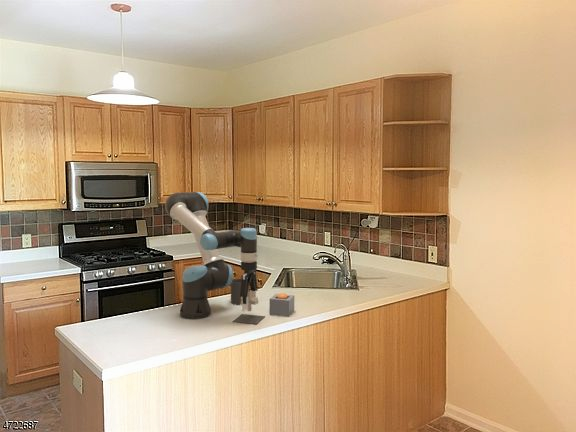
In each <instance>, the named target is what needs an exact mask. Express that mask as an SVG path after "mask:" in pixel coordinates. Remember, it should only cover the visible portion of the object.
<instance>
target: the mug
mask: <svg viewBox="0 0 576 432" xmlns="http://www.w3.org/2000/svg"><path fill="white" fill-rule="evenodd" d="M241 280H242V279H241V278H235V279H234V278H233V279H232V282H231V284H230V303H231V304H232V305H235V304H236V305H237V306H238V305H239V306H240V304H241V301H242V300H241V297H240V291H241ZM249 290H251V289H249ZM241 306H242V304H241Z"/></svg>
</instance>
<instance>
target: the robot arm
mask: <svg viewBox="0 0 576 432" xmlns="http://www.w3.org/2000/svg"><path fill="white" fill-rule="evenodd" d="M164 209H165V211H166V213H167V215H168V216H169V217H170V218H171V219H173V220H177V222H179V223H180V224H181V225H182V226H183V227H185V229H187V230H188V231H189V232H190V233H192V234H193V235H194V238H195V241H196V244H197V246H198V250H199V253H200V256H201V259H202V262H203V264H202V265H201V264H200V265H198V264H197V265H193V266H189V267H187V268H185V269H184V270H183V271H182V272H183V273H182V302H181V305H180V308H179V316H180V317H181V318H184V319H188V320H189V319H190V320H192V319H193V320H194V319H195V320H196V319H197V320H198V319H204V318H207V317H210V316H211V314H212V308H211V305H210V301H209V299H208V292H212V291H216V290H220V289H224V288H227V287H229V286H231V282H232V280H233V279H234V271H233V268H232V266H231V265H229V264H228V263H225V262H226V261H225V260H224V258H223V257H220V254H219V251H218V249H226V248H232V247H237V248H240V261H241V262H240V269H241V271H243V274H241V276H240V277H241V278H240V279H242V280H241V291H240V297H242V305H241V309H242V310H241V311H243V312H244V311H245V312H249V311H248V297H247V295H248V290H250V289H251V298H253V297H257V293H256V292H257V291H258V290H259V289H258V277H257V269H258V262H257V260H258V258H257V257H258V256H259V254H258V233H257V229H256V228H254V227H243V228H241V229H240V230H234V229H229V230H228V229H227V230H226V231H220V232H216V231H215V230H214V229H213V228H211V227H210V225H209V223H208V220H207V218H206V216H207V214H208V210H209V200H208V198H207V196H206V194H204V193H203V192H200V191H189V192H185V191H184V192H174V193H172V194H171V195H169V196H168V197H167V198H166V200H165V203H164ZM249 287H250V289H249ZM252 305H255V306H256V305H257V304H254V303H251V306H252Z"/></svg>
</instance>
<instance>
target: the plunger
mask: <svg viewBox="0 0 576 432" xmlns="http://www.w3.org/2000/svg"><path fill="white" fill-rule="evenodd" d="M276 294H277V299H287V295H288V294H287V293H276Z"/></svg>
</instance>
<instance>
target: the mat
mask: <svg viewBox="0 0 576 432" xmlns="http://www.w3.org/2000/svg"><path fill="white" fill-rule="evenodd" d="M265 317H266V316H265V315H258V314H247V313H245V314H244V313H241V314H240V315H238V316H237V317H236V318H234V319H233V320H232V323H235V322H236V323H237V324H238V323H239V324H247V325H256V326H257V325H258V324H260V322H261V321H262V320H263V319H265Z"/></svg>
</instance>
